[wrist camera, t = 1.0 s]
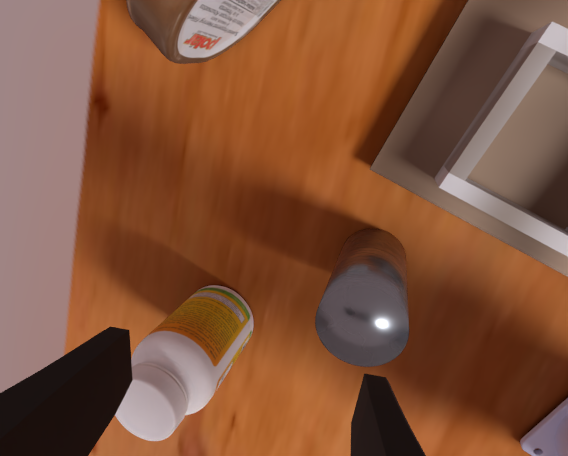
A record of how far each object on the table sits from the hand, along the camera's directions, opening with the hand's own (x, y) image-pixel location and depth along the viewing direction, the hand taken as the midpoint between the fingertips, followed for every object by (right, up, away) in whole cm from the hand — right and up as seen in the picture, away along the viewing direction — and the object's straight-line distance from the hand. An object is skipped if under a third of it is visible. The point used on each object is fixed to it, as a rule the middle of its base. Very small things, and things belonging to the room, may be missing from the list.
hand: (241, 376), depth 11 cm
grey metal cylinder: (+7, +3, +12) cm, 14 cm away
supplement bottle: (-3, -2, +17) cm, 18 cm away
